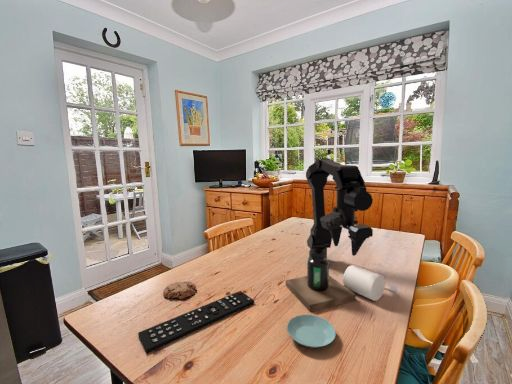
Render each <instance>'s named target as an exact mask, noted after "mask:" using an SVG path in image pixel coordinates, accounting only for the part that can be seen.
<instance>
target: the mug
mask: <svg viewBox="0 0 512 384" xmlns="http://www.w3.org/2000/svg"><path fill="white" fill-rule="evenodd" d="M342 277H343V278H342V283H343V284H342V285H343V286H345V287H346V288H347V289H349V290H350V291H352V292H353V293H356V294H358V295H361V297H364V298H367V299H368V300H369V299H370V300H371V301H373V302H377V301H379V300H380V299H381V297H382V296H383V294H384V291H385V287H386V280H385V277H384V276H383V275H382V274H379V273H377V272H374V271H371V270H368V269H365V268H362V267H360V266H356V265H355V264H354V265H353V264H352V265H351V264H350V265H349V266H348V267H347V268H346V269H345V271H344V274H343V276H342Z"/></svg>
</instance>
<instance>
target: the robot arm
mask: <svg viewBox="0 0 512 384" xmlns="http://www.w3.org/2000/svg"><path fill="white" fill-rule="evenodd" d="M330 175H331V176H332V180H333V181H334V182H335V184H336V185H335V186H334V189H335V190H336V206H334V207H333V208H332V212H330V213H327V214H326V209H325V208H326V207H325V191H324V189H325V186H326V185H327V182H328V178H329V176H330ZM305 178H306V182H307V184H308V186H309V187H310V189H311V197H312V198H311V199H312V215H313V217H312V218H313V225H312V227H311V228H310V231H309V232H310V234H309V237H307V239H306V245H307V247H308V248H309V251H308V254H309V255H308V258H307V259H309V258H311V257H310V254H311V250H313V249H322V250H324V251H326V259H327V260H328V249H330V248H331V246H332V243H333V245H334V247H338V246H339V244H340V239H341V235H342V230H343V228H344V229H345V230H348V236H347V237H348V238H349V240H350V241H351V242H350V244H351V256H353V257H354V256H357V254H358V252H359V250H360V249H361V247H362V245H363V244H364V242H365V241H366V240H367V239H370V237H374V236H373V234H374V229H373V228H372V227H371V226H368V225H365V224H358V222H359V221H358V220H357V219H356V217H355V216H356V212H359V211H360V212H365V211H367V210H369V209H370V208H371V207H372V205H373V202H374V201H373V196H372V195H371V193H369V191H367V187H366V185H365V183H366V182H365V180H364V178H363V176H362V173H361V171H360V169H359V167H358V166H357V165H353V164H352V165H351V164H341V163H339V162H336V161H334V160H333V159H331V158H328V157H324V158H323V157H321V158H316V160H315V162H314V163H312V164H310V165H309V166H308V167H307V169H306V172H305ZM328 262H329V263H330V260H328Z"/></svg>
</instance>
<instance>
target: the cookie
mask: <svg viewBox="0 0 512 384" xmlns="http://www.w3.org/2000/svg"><path fill="white" fill-rule="evenodd" d="M196 289H197V284H195V283H193V282H192V281H175V282H173V283H170V284H168V285H167V286H166V287H165V288H164V289H163V293H162V295H163V297H164V298H167V299H175V298H176V299H178V300H183V299H185V298H187V297H191V296H193V295H194V294H195V292H196Z"/></svg>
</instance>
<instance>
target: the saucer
mask: <svg viewBox="0 0 512 384" xmlns="http://www.w3.org/2000/svg"><path fill="white" fill-rule="evenodd" d="M286 330H287V331H286V332H287V333H288V334H289V336H290V337H291V339H292V340H294V342H296V343H298V344H299V345H302V346H304V347H307V348H315V349H316V348H323V347H325V346H328V345H329V344H332V342H333V341H334V340H335V338H336V335H337V334H336V330H335V328H334V326H333V324H332V323H330V322H329V321H328V320H327V319H325V318H323V317H321V316H319V315H313V314H300V315H299V314H298V315H296V316H294V317H292V318H291V319H290V320H289V321H288V322H287V325H286Z"/></svg>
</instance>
